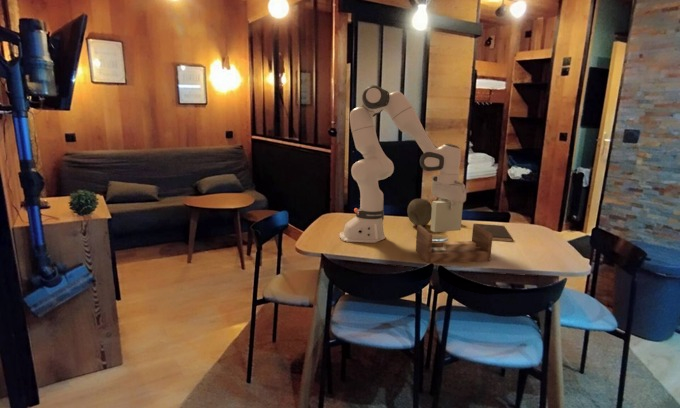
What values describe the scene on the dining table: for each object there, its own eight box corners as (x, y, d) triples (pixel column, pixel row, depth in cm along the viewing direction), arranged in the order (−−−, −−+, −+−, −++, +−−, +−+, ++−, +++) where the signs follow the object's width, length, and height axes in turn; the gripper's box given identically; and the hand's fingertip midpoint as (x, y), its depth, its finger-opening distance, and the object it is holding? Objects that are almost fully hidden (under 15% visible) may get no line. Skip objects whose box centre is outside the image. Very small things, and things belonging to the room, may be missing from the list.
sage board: (434, 232, 189) (436, 203, 186) (430, 229, 193) (432, 201, 190) (460, 230, 193) (463, 201, 190) (456, 227, 197) (458, 199, 194)
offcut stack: (433, 261, 169) (434, 244, 168) (430, 258, 173) (431, 241, 171) (478, 260, 172) (480, 243, 170) (475, 257, 175) (476, 241, 174)
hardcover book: (478, 239, 201) (478, 235, 201) (473, 227, 223) (474, 223, 223) (512, 242, 198) (513, 238, 197) (504, 229, 220) (504, 225, 219)
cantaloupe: (437, 227, 219) (439, 200, 216) (416, 230, 213) (418, 202, 210) (421, 221, 232) (423, 195, 228) (400, 223, 225) (402, 197, 222)
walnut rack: (426, 263, 167) (428, 235, 164) (415, 250, 181) (417, 225, 179) (489, 261, 170) (492, 233, 168) (473, 249, 185) (476, 224, 182)
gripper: (470, 182, 180) (468, 212, 183) (440, 175, 198) (438, 203, 201) (459, 183, 177) (457, 213, 180) (429, 176, 195) (428, 204, 198)
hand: (447, 208), depth 191 cm, fingers closed on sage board, 4 cm apart
